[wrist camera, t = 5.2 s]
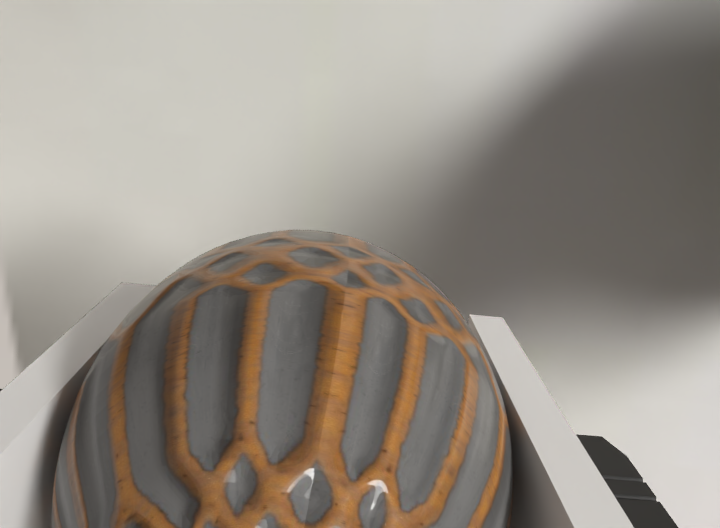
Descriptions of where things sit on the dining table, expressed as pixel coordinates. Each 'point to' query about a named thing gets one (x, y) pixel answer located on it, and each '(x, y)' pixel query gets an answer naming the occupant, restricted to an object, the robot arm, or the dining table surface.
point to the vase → (288, 400)
